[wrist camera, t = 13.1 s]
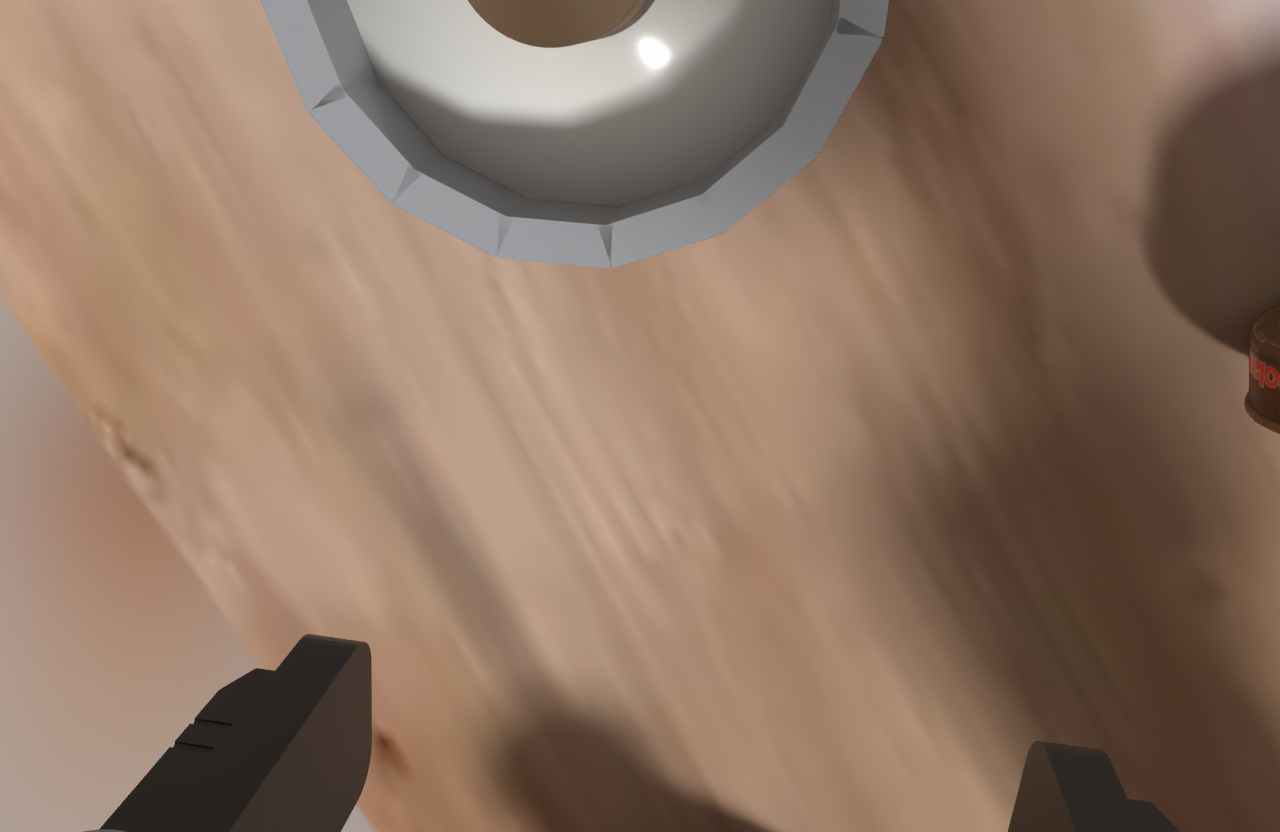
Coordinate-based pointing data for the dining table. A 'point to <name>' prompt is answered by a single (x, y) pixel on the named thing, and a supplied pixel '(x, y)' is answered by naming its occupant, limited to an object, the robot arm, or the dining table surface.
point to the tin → (1265, 371)
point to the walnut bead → (560, 19)
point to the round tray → (579, 115)
